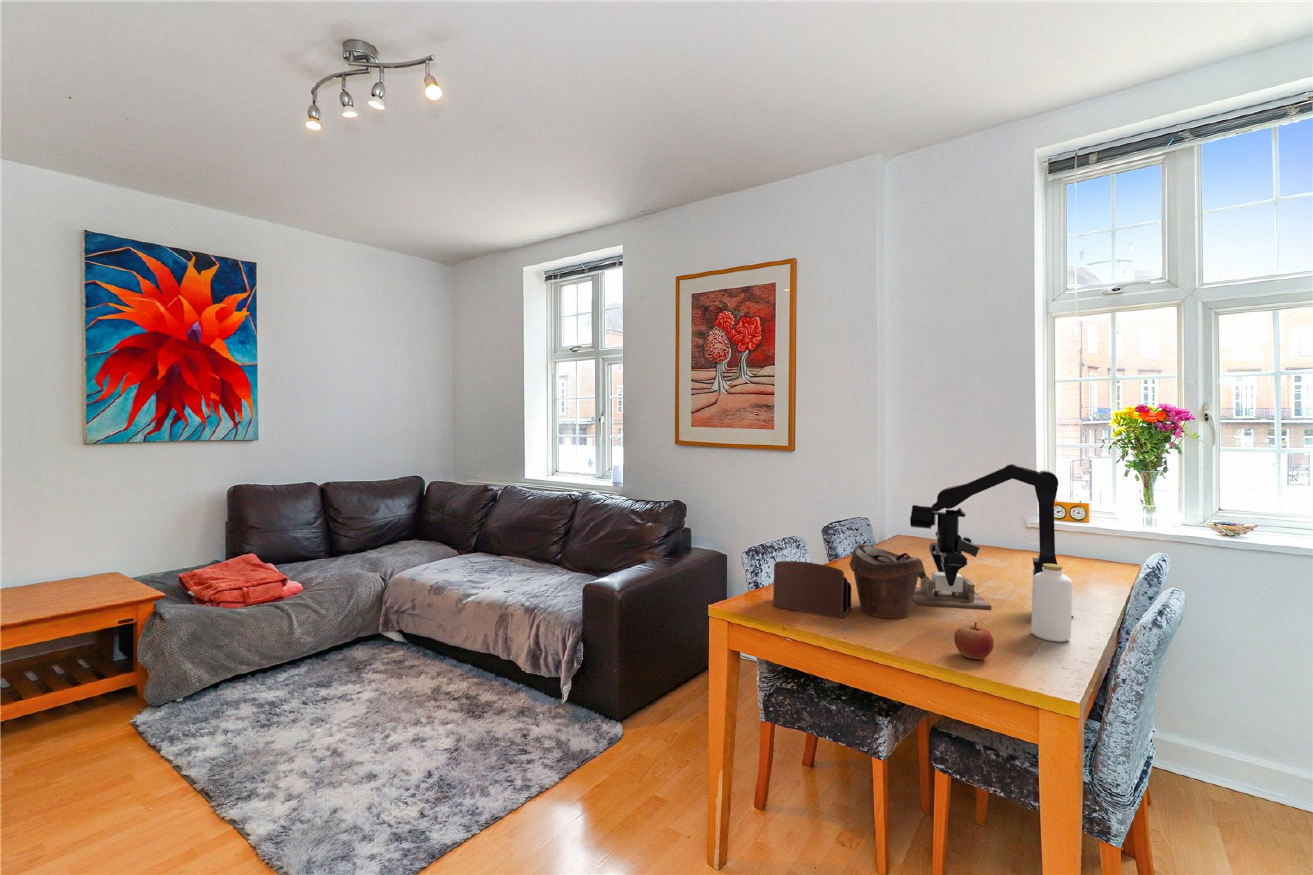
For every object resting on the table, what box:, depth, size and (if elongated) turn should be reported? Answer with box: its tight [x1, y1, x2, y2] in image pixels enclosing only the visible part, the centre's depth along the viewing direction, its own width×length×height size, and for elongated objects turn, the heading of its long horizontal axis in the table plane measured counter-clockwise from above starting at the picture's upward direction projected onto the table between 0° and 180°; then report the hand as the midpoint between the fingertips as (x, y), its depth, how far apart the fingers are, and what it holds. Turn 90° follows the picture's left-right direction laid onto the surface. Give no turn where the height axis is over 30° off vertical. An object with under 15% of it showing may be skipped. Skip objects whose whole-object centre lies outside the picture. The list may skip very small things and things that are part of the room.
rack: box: [912, 575, 992, 610], centre depth 184 cm, size 16×20×6 cm
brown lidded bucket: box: [849, 543, 927, 620], centre depth 171 cm, size 18×20×18 cm
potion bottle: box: [1031, 563, 1073, 643], centre depth 152 cm, size 8×8×18 cm
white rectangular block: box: [931, 571, 963, 592], centre depth 184 cm, size 8×5×4 cm, turn 79°
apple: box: [953, 622, 994, 660], centre depth 139 cm, size 8×8×8 cm
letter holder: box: [772, 560, 852, 620], centre depth 174 cm, size 10×20×14 cm, turn 59°
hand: (946, 581), depth 184 cm, fingers open, 9 cm apart
